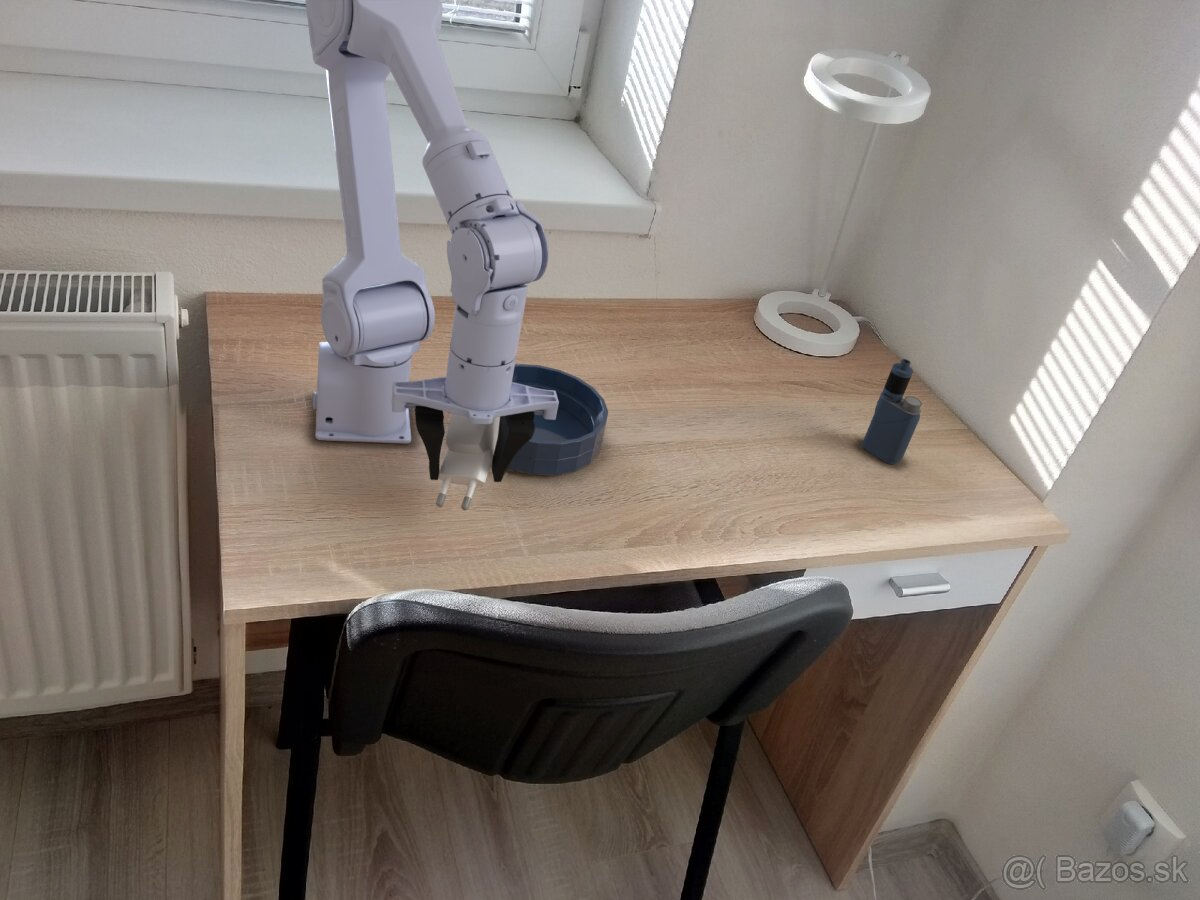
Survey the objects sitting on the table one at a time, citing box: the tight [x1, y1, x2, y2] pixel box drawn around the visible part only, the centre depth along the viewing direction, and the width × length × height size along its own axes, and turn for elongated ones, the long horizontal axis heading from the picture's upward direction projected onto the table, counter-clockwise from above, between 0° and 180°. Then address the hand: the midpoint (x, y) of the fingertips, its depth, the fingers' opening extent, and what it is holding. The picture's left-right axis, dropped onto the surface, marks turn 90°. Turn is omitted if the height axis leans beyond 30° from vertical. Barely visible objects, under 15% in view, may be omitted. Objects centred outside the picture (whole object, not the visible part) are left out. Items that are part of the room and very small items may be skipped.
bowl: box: [507, 363, 609, 476], centre depth 112 cm, size 15×15×4 cm
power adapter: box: [435, 413, 500, 511], centre depth 98 cm, size 11×5×6 cm
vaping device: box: [860, 358, 923, 465], centre depth 120 cm, size 3×5×12 cm, turn 45°
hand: (464, 474), depth 97 cm, fingers closed on power adapter, 5 cm apart
